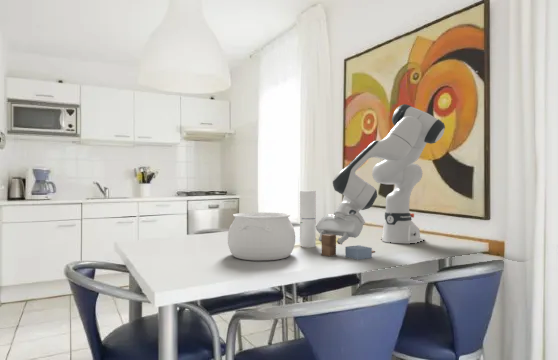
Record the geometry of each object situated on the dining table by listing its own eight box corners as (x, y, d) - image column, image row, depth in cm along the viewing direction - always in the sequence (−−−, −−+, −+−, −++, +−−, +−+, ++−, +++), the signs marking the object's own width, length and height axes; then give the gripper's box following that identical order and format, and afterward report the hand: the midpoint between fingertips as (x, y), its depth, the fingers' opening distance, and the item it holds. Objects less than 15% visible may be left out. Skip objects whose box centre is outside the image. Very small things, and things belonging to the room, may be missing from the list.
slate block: (359, 255, 149) (359, 245, 149) (371, 258, 143) (371, 247, 143) (345, 257, 146) (345, 246, 146) (357, 260, 140) (357, 249, 140)
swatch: (361, 249, 160) (361, 248, 160) (375, 252, 155) (375, 251, 155) (353, 251, 157) (353, 250, 157) (367, 253, 152) (367, 252, 152)
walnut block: (328, 253, 151) (328, 233, 152) (335, 255, 148) (335, 234, 149) (321, 254, 149) (321, 234, 149) (329, 256, 146) (329, 235, 146)
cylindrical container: (310, 247, 165) (310, 191, 165) (296, 246, 169) (296, 190, 170) (318, 245, 171) (318, 190, 171) (305, 244, 175) (305, 190, 175)
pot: (288, 265, 130) (288, 218, 130) (215, 262, 135) (216, 217, 135) (300, 250, 159) (300, 212, 159) (240, 248, 164) (240, 211, 164)
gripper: (322, 209, 161) (306, 234, 155) (362, 212, 146) (346, 239, 139) (328, 219, 164) (313, 244, 157) (368, 222, 149) (353, 250, 142)
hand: (329, 242), depth 148 cm, fingers open, 8 cm apart
